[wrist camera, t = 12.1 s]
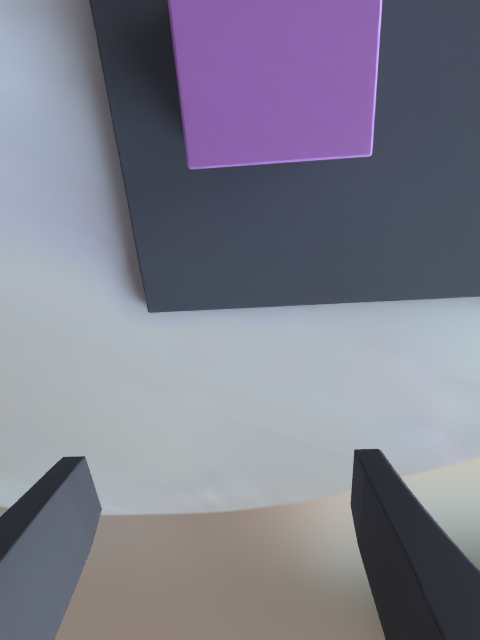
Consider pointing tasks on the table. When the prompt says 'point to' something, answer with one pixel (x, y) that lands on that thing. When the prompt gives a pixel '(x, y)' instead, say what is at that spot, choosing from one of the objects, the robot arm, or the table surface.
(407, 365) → the table surface
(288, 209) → the mat
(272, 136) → the block
